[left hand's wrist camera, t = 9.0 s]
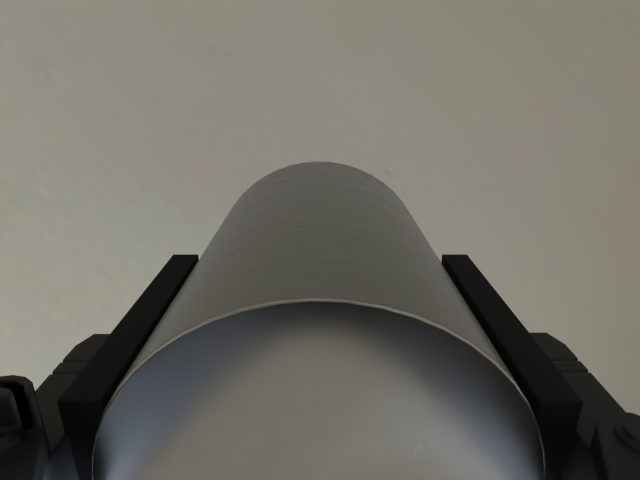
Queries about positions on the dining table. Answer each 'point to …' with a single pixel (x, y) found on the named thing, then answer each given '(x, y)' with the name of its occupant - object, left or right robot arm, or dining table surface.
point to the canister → (318, 354)
